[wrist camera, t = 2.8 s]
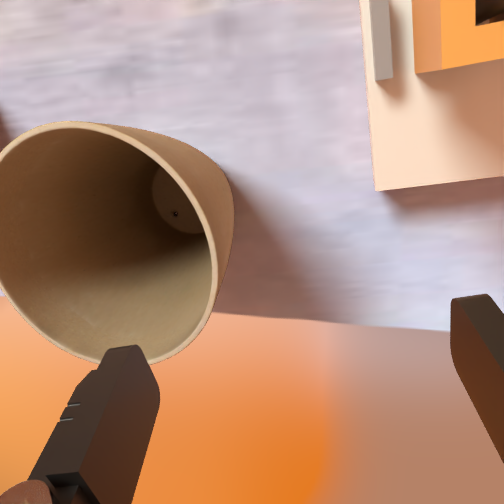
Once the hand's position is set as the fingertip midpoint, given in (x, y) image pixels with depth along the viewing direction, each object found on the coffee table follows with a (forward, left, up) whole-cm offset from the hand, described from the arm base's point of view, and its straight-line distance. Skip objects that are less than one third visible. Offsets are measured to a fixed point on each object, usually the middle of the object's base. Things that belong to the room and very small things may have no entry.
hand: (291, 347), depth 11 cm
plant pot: (-13, -1, -26) cm, 29 cm away
